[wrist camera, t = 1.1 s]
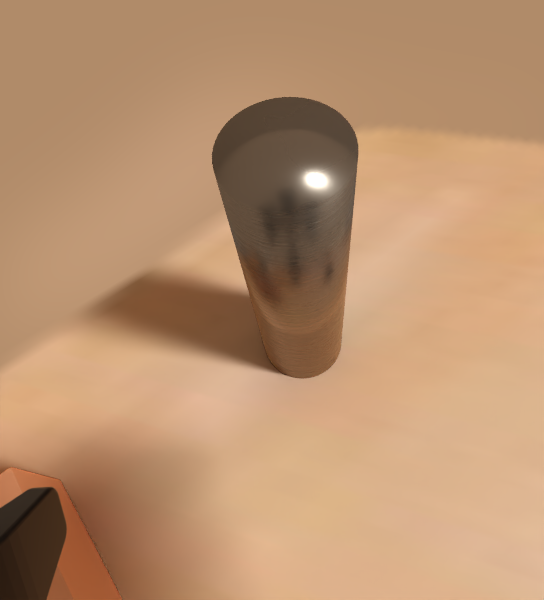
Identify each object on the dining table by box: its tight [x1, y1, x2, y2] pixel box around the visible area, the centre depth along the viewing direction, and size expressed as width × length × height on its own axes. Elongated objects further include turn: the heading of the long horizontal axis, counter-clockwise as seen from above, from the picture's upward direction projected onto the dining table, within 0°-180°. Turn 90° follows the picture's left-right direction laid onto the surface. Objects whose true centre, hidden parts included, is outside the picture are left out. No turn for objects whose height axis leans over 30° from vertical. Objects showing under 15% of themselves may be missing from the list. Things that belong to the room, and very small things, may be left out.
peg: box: [212, 97, 358, 378], centre depth 18 cm, size 4×4×13 cm
